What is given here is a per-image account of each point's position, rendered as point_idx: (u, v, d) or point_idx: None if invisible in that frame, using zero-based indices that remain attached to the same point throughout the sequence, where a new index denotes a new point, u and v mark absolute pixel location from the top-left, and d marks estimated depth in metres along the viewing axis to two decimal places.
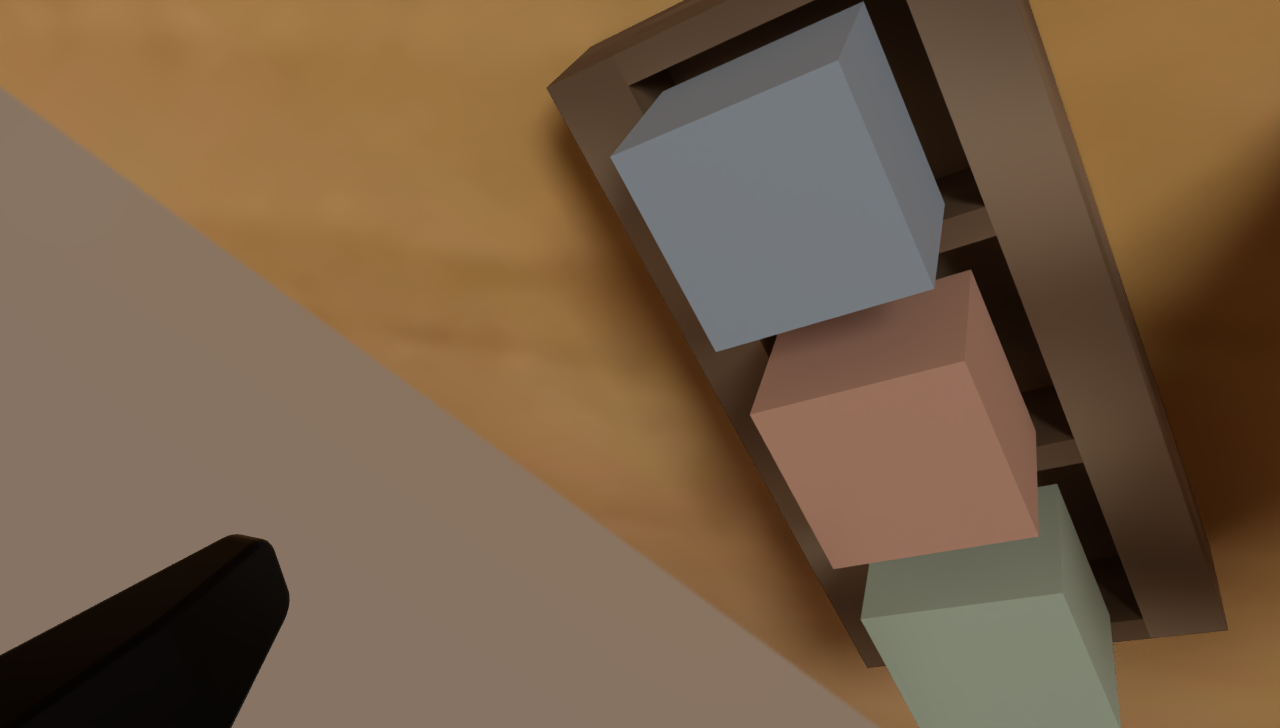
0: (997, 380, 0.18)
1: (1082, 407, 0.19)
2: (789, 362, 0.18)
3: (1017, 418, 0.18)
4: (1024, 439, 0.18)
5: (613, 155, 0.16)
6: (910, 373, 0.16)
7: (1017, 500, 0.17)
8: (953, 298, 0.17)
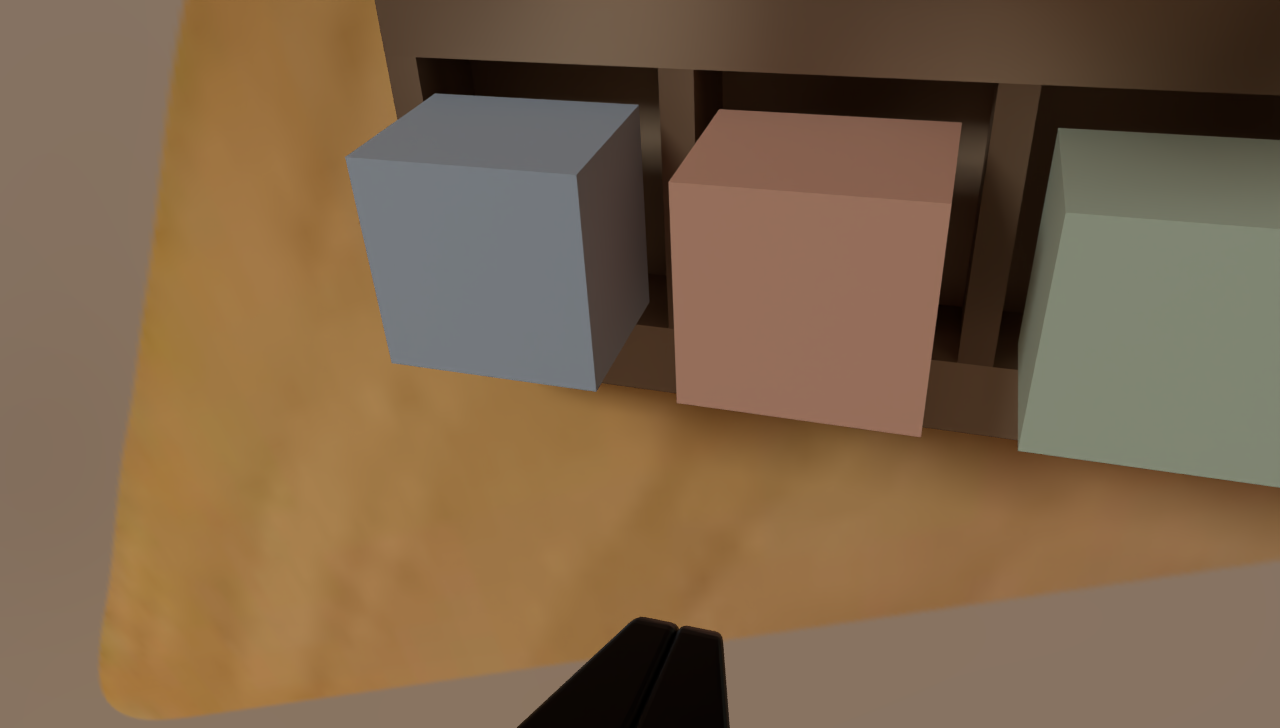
0: (797, 146, 0.15)
1: (953, 58, 0.15)
2: None
3: (875, 143, 0.15)
4: (904, 148, 0.14)
5: (391, 359, 0.17)
6: (671, 238, 0.14)
7: (882, 205, 0.13)
8: None
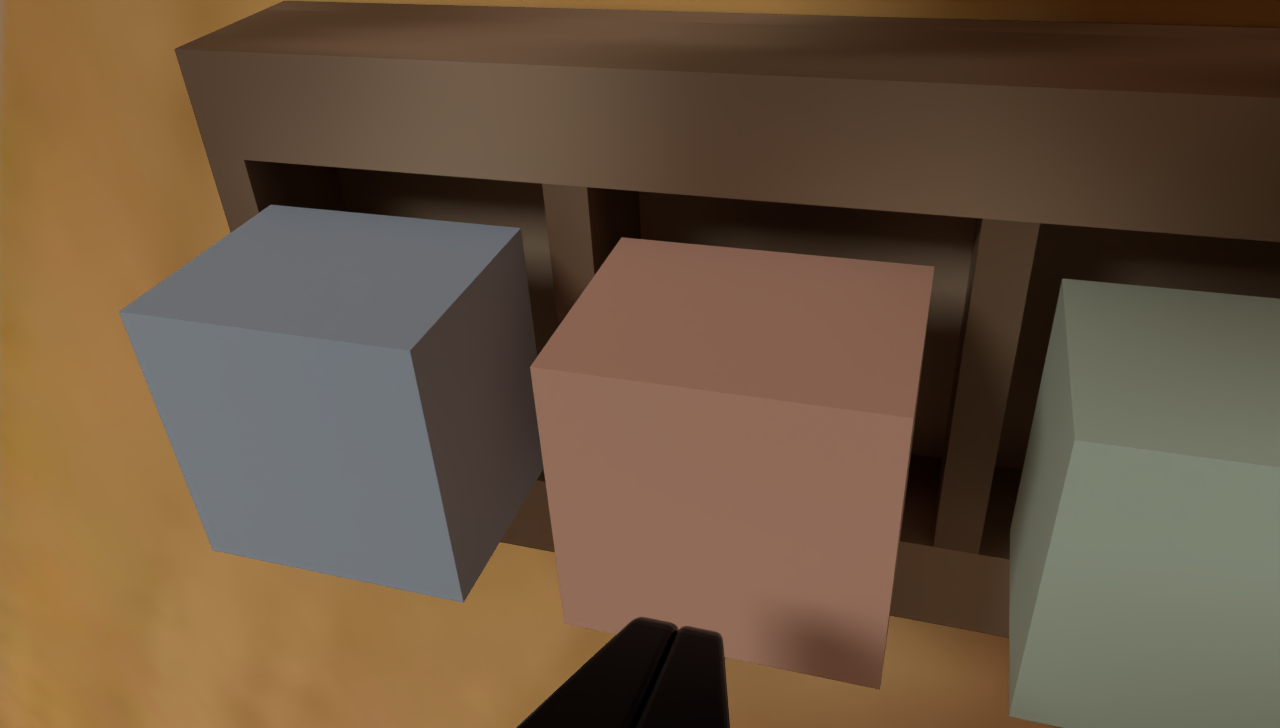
0: (713, 305, 0.11)
1: (921, 185, 0.11)
2: None
3: (817, 302, 0.11)
4: (855, 311, 0.11)
5: (212, 546, 0.14)
6: (541, 433, 0.11)
7: (818, 413, 0.09)
8: None
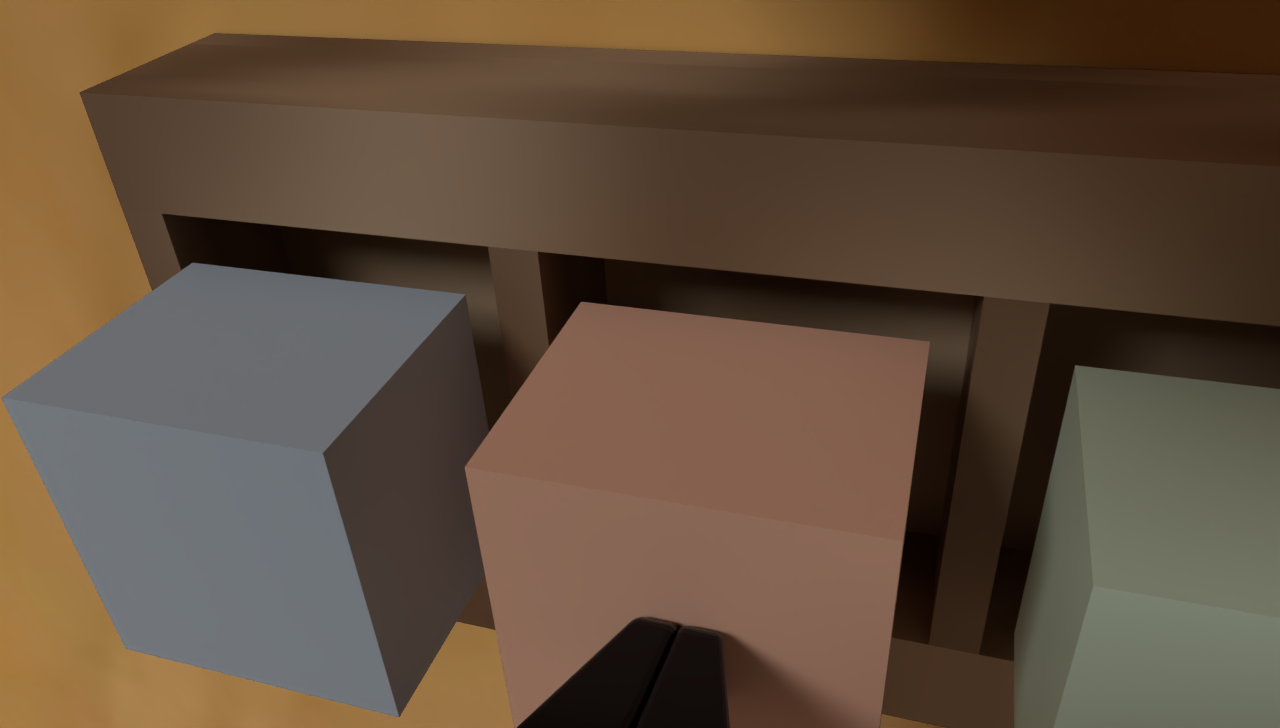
0: (678, 389, 0.10)
1: (914, 258, 0.10)
2: None
3: (795, 386, 0.10)
4: (839, 398, 0.09)
5: (125, 645, 0.12)
6: (480, 538, 0.09)
7: (793, 531, 0.08)
8: None
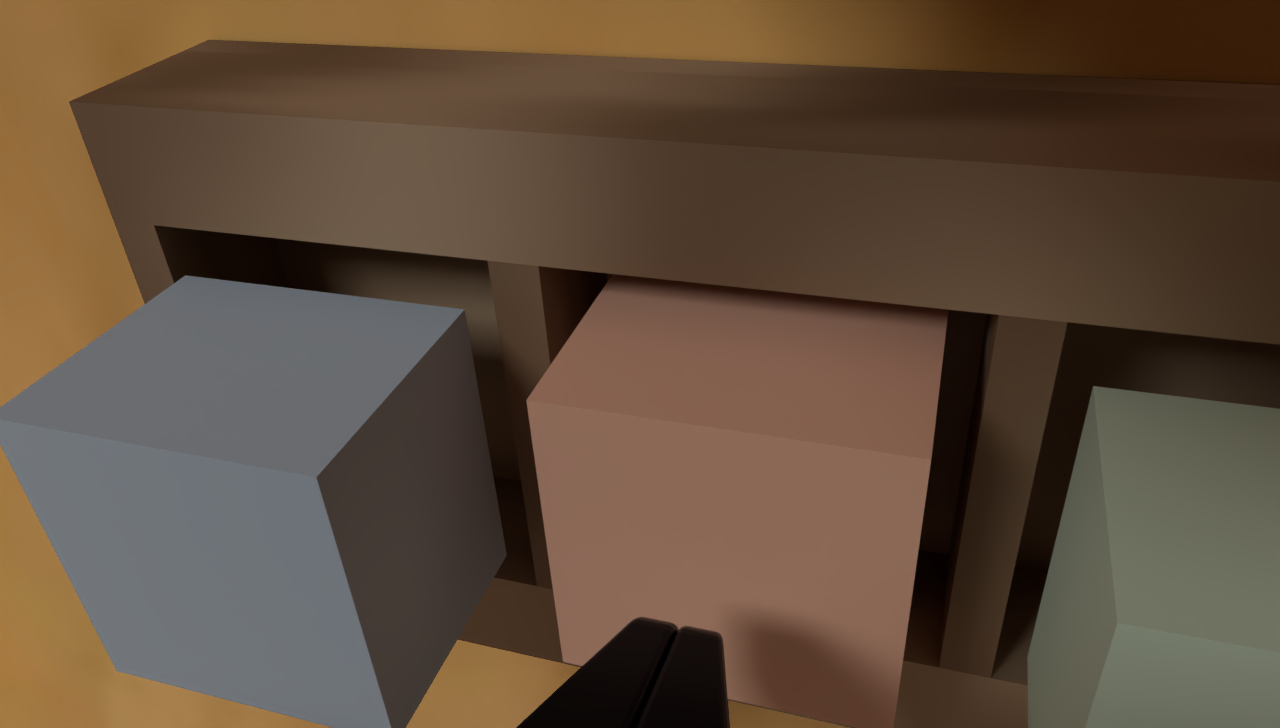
0: (719, 334, 0.10)
1: (927, 275, 0.09)
2: None
3: (827, 330, 0.10)
4: (868, 340, 0.10)
5: (115, 667, 0.12)
6: (538, 468, 0.10)
7: (830, 453, 0.09)
8: None
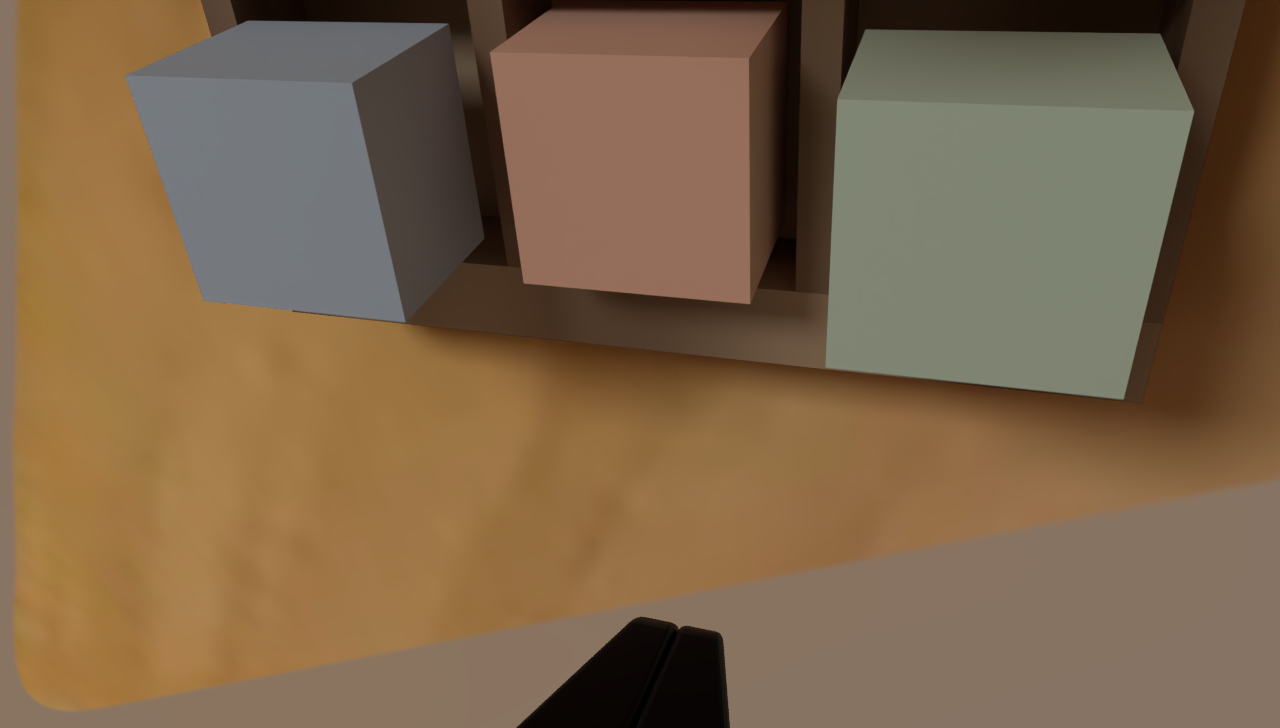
0: (623, 23, 0.15)
1: None
2: None
3: (698, 18, 0.15)
4: (724, 21, 0.15)
5: (203, 297, 0.17)
6: (499, 111, 0.15)
7: (687, 63, 0.14)
8: None
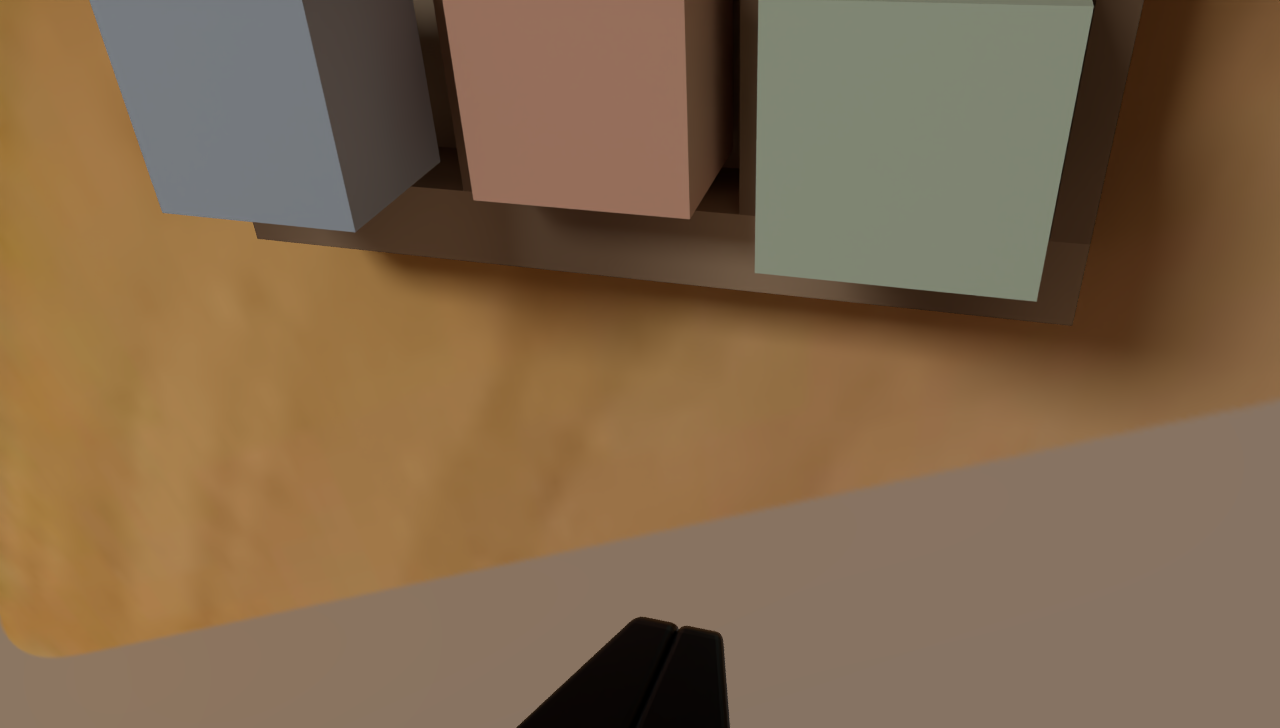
0: None
1: None
2: None
3: None
4: None
5: (162, 209, 0.17)
6: (447, 24, 0.15)
7: None
8: None
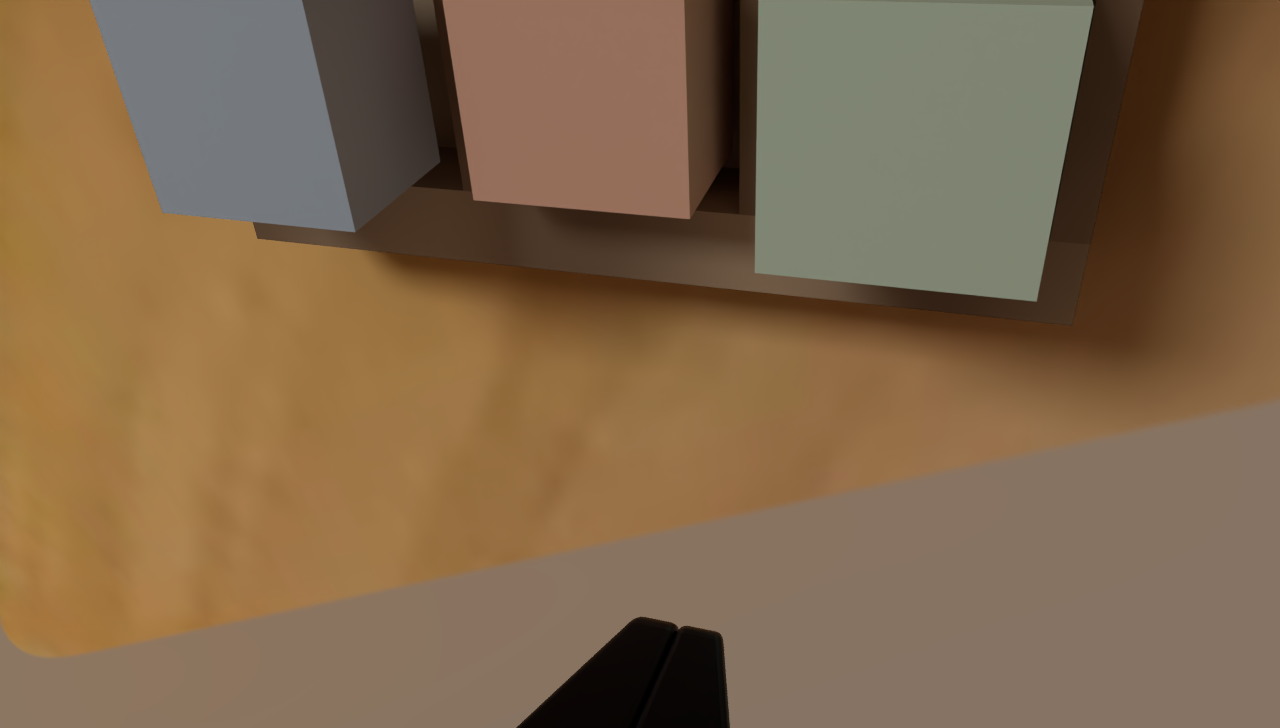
0: None
1: None
2: None
3: None
4: None
5: (162, 209, 0.17)
6: (447, 24, 0.15)
7: None
8: None
